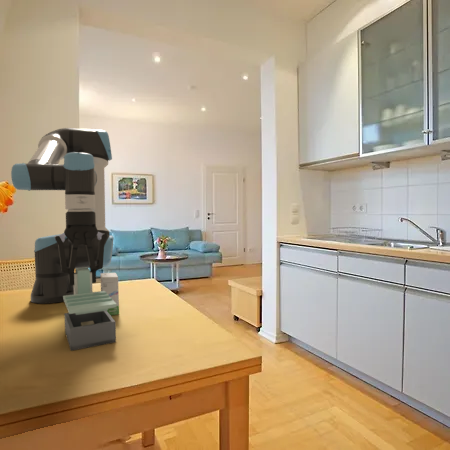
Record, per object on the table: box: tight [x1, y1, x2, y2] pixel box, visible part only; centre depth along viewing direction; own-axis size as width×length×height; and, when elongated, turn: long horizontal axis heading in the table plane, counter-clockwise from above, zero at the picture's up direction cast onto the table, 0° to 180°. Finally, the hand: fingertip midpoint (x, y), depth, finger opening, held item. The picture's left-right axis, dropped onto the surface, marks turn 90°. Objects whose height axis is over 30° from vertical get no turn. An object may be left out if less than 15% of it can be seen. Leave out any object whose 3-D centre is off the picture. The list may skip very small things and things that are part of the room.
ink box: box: [100, 272, 120, 316], centre depth 109 cm, size 8×5×12 cm, turn 23°
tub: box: [64, 310, 117, 351], centre depth 87 cm, size 10×14×5 cm
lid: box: [63, 267, 116, 315], centre depth 89 cm, size 10×20×8 cm, turn 30°
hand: (83, 295), depth 96 cm, fingers closed on lid, 3 cm apart
